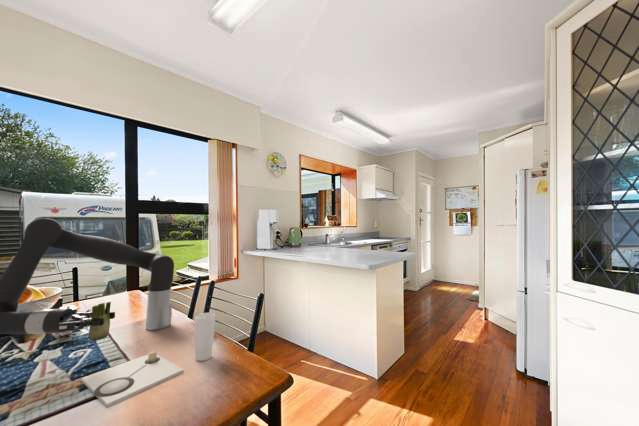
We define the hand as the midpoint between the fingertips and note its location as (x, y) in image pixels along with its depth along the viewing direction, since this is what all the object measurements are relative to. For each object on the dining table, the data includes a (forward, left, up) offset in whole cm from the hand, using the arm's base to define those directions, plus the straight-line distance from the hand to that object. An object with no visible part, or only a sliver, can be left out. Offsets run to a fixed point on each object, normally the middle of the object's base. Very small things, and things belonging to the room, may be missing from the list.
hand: (109, 318), depth 88 cm
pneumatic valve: (0, -43, -15) cm, 46 cm away
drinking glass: (-21, +23, -15) cm, 35 cm away
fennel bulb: (+2, -2, -7) cm, 7 cm away
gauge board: (-2, +16, -15) cm, 22 cm away
